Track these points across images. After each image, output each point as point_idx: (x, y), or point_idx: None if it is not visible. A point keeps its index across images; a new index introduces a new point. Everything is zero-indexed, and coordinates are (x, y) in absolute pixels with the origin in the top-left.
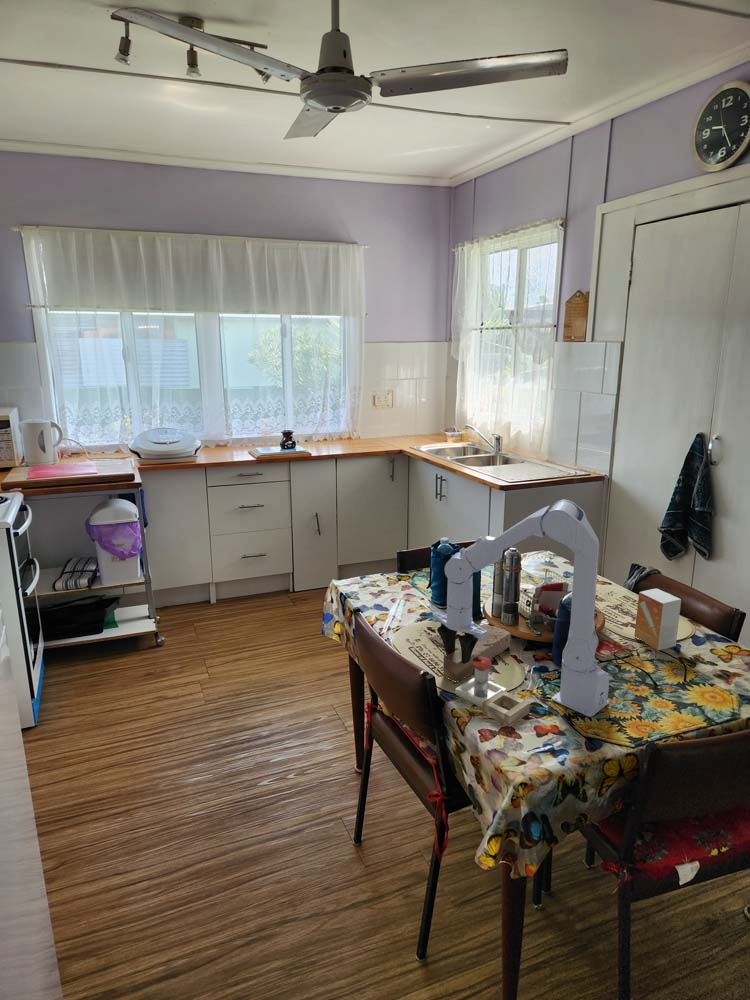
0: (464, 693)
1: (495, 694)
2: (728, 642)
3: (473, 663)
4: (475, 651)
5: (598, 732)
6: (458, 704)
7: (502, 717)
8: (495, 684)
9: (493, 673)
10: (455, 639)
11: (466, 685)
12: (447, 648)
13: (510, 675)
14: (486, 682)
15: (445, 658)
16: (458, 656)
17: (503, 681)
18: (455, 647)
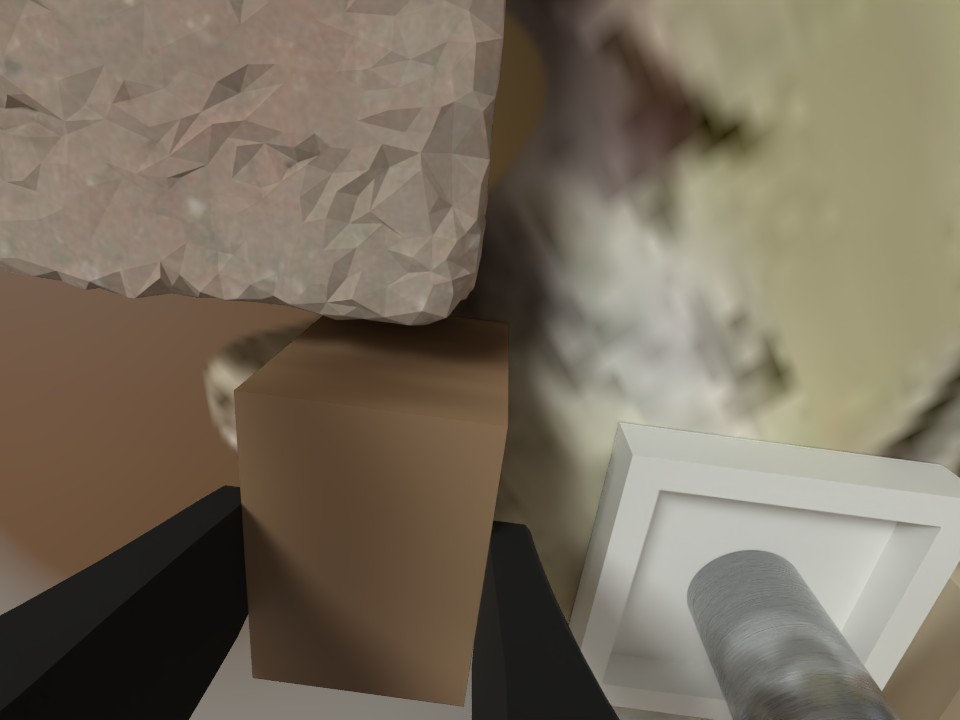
0: (658, 710)
1: (952, 705)
2: None
3: None
4: (416, 185)
5: None
6: (638, 716)
7: None
8: (860, 496)
9: (694, 190)
10: (88, 633)
11: (617, 625)
12: (191, 714)
13: (895, 99)
14: None
15: (286, 676)
16: (376, 585)
17: (850, 274)
18: (117, 285)
